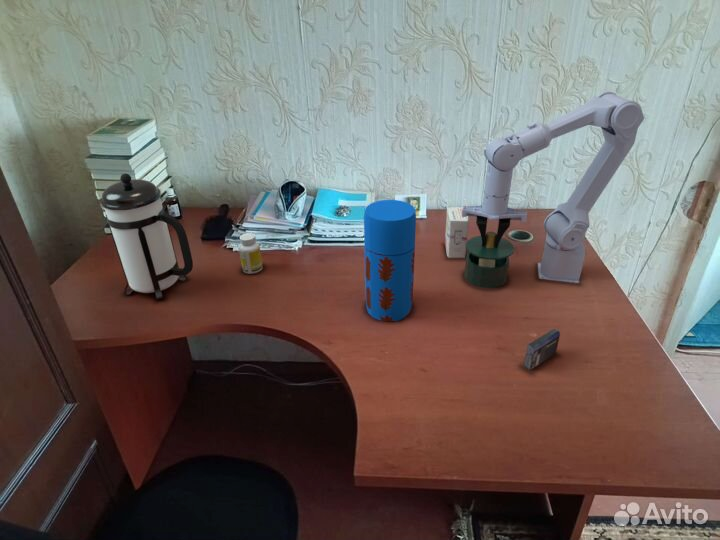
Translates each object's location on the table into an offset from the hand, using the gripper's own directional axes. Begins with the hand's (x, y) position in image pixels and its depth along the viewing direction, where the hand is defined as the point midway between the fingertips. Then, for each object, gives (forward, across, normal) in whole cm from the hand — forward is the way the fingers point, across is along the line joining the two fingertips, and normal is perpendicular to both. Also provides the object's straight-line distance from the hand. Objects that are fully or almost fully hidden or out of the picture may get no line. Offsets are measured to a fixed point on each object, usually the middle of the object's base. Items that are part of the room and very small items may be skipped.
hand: (489, 244), depth 120 cm
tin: (+10, 0, 0) cm, 10 cm away
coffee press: (+10, -79, -21) cm, 83 cm away
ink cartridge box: (+10, -9, +12) cm, 18 cm away
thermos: (+10, -21, -18) cm, 29 cm away
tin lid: (+1, 0, 0) cm, 1 cm away
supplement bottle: (+10, -60, -8) cm, 62 cm away
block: (+9, 0, 0) cm, 9 cm away
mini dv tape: (+10, +12, -29) cm, 33 cm away
